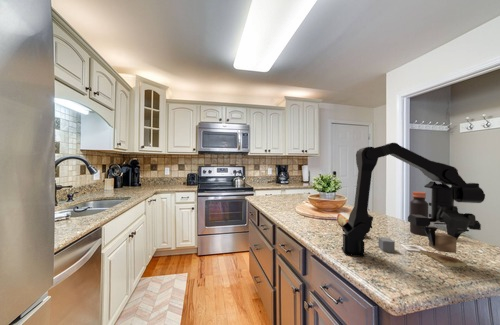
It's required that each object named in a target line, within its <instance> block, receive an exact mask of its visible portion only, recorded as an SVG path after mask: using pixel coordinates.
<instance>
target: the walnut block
mask: <svg viewBox="0 0 500 325" xmlns="http://www.w3.org/2000/svg"><path fill="white" fill-rule="evenodd" d="M428 246H429V247H430V248H432V249H434V250H435V251H437V252H439V253H452V254H456V253H457V241H456V238H455V237H453V236H450V235H448V234H447V232H446V233H445V232H436V231H435V246H433V245H431V243H430V241H429V240H428Z"/></svg>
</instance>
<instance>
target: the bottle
mask: <svg viewBox="0 0 500 325" xmlns="http://www.w3.org/2000/svg"><path fill="white" fill-rule="evenodd" d="M426 197H427V193H426V192H424V191H423V192H422V191H412V198H413V199H412V200H410V202H409V205H410V206H409V208H410V209H409V212H410V213H409V215H410V214H414V215H422V216H425V217H427V218H429V202H427V201H426ZM409 231H410V233H412V234H414V235H418V236H427V235H426V233H425V231H424V230H423V228H422V226H417V225H414V224H412V223H410V222H409Z"/></svg>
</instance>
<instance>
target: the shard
mask: <svg viewBox="0 0 500 325" xmlns="http://www.w3.org/2000/svg"><path fill="white" fill-rule="evenodd" d="M420 251H421V252H420V253H421V254H423V255H424V256H427V257H429V258H431V259H433V260H435V261H437V262H439V263H440V264H442V265H444V266H447V267H448V266H450V267H458V266H463V268H464V267H465V268H466V266H467V262H465V261H463V260H461V259H459V258H457V257H453V256H450V255H446V254H441V253H436V252H432V251H428V250H427V251H424V250H420Z"/></svg>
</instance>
